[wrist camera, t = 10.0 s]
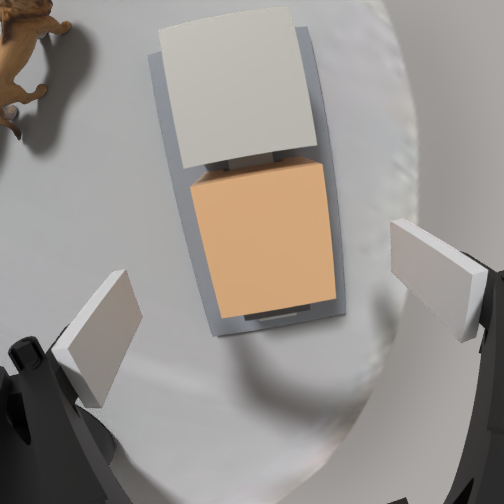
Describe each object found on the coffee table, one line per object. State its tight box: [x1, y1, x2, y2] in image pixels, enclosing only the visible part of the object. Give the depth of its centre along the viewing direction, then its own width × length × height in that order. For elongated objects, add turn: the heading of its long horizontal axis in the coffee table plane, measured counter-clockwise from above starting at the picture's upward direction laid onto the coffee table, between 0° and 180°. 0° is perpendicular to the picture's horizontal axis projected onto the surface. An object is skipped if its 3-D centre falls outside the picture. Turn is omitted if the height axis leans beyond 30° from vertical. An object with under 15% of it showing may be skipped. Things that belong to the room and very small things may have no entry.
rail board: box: [148, 6, 346, 337], centre depth 21 cm, size 12×24×8 cm, turn 10°
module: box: [190, 156, 336, 318], centre depth 21 cm, size 7×8×7 cm
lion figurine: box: [0, 0, 71, 140], centre depth 15 cm, size 15×5×9 cm, turn 165°
